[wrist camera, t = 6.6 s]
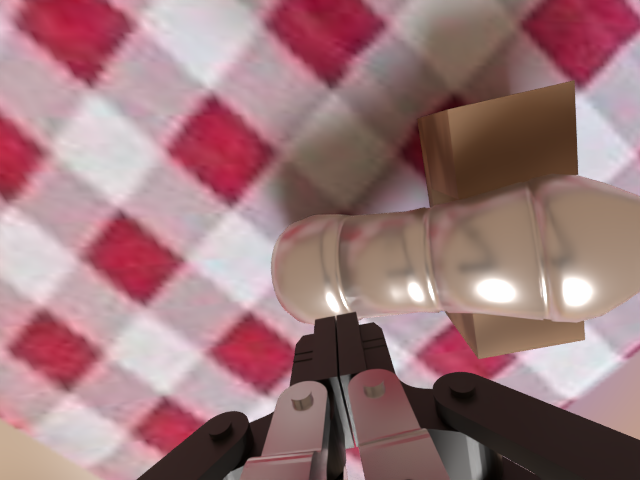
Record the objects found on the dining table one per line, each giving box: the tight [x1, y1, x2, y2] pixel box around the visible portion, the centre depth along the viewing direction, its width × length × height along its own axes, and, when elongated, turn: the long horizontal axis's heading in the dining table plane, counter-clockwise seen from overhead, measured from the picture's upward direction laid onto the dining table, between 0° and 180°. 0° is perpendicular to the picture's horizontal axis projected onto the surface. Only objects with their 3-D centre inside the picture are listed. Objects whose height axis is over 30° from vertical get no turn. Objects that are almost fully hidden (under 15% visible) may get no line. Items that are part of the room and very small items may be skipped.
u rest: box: [417, 81, 585, 359], centre depth 22 cm, size 14×6×6 cm, turn 12°
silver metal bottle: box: [271, 174, 640, 325], centre depth 18 cm, size 6×7×20 cm
